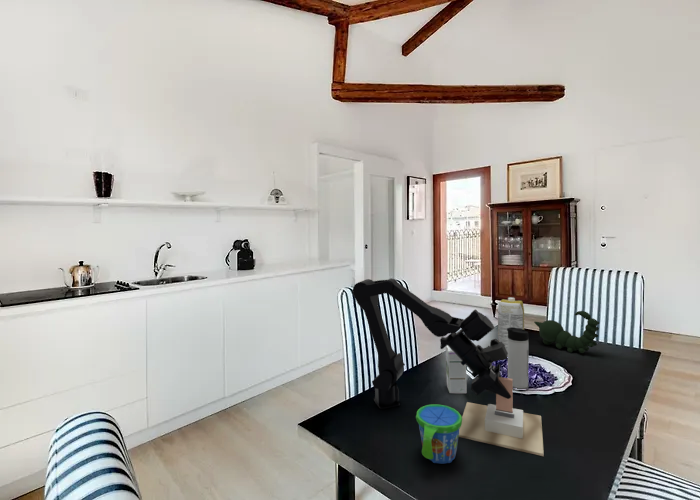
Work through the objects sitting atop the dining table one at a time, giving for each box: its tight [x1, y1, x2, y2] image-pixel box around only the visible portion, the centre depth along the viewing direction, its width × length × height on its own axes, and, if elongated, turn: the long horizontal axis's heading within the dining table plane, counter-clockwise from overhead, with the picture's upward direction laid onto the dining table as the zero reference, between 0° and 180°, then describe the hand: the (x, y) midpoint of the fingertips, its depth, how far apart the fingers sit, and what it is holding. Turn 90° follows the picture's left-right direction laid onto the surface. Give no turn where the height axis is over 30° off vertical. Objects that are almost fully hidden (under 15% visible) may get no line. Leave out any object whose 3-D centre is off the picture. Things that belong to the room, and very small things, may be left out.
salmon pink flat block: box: [495, 376, 514, 413], centre depth 95 cm, size 4×1×9 cm, turn 63°
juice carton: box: [497, 297, 525, 357], centre depth 144 cm, size 9×8×24 cm
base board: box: [458, 401, 545, 457], centre depth 96 cm, size 20×18×1 cm
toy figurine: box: [533, 310, 600, 354], centre depth 151 cm, size 9×19×25 cm
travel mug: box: [507, 328, 529, 390], centre depth 118 cm, size 6×7×20 cm
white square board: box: [485, 403, 524, 439], centre depth 96 cm, size 9×9×3 cm
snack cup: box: [415, 403, 463, 465], centre depth 85 cm, size 16×10×10 cm
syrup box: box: [445, 345, 468, 395], centre depth 118 cm, size 6×6×14 cm
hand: (510, 396), depth 95 cm, fingers closed on salmon pink flat block
